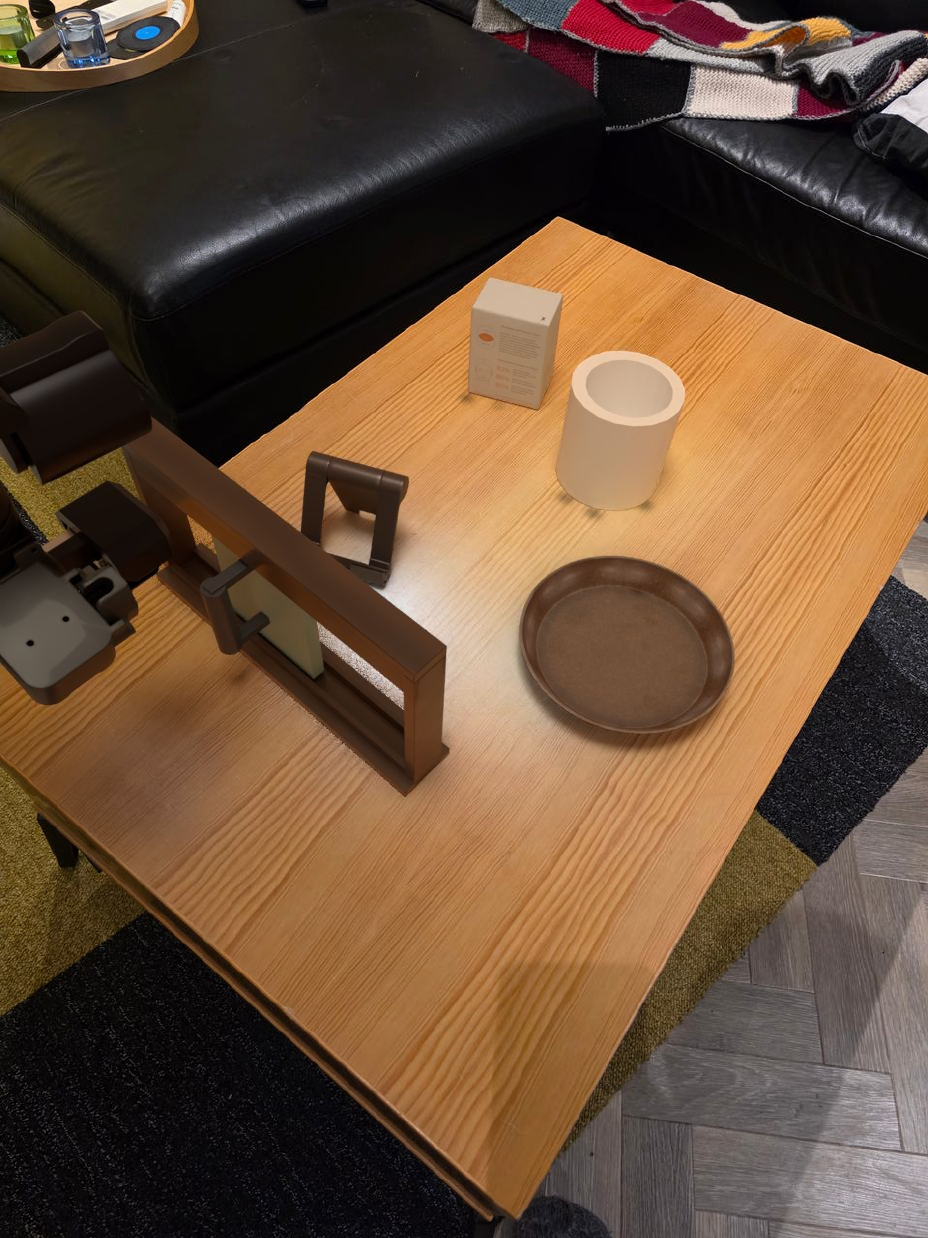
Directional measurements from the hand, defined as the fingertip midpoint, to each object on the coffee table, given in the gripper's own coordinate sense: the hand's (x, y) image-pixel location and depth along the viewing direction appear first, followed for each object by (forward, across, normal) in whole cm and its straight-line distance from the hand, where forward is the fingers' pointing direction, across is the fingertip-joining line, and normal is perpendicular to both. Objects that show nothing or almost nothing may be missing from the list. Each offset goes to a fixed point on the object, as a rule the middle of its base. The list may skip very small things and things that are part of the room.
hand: (55, 682), depth 55 cm
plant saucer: (+13, +35, -22) cm, 43 cm away
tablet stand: (+13, +28, +3) cm, 31 cm away
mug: (+13, +53, -8) cm, 55 cm away
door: (+12, +14, 0) cm, 18 cm away
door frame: (+13, +16, -2) cm, 21 cm away
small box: (+13, +55, +7) cm, 57 cm away
